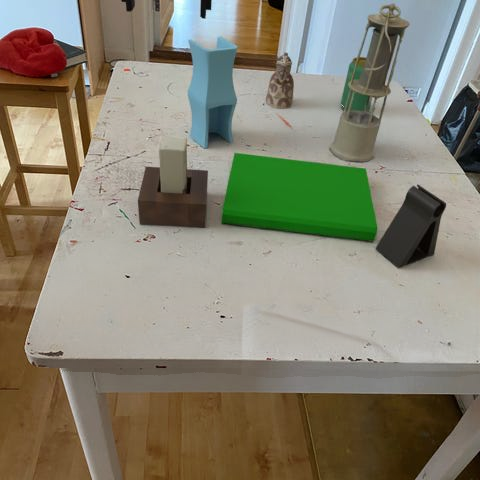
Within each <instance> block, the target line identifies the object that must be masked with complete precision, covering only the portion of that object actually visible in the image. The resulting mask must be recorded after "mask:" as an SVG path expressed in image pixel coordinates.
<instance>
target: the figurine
mask: <svg viewBox="0 0 480 480" xmlns="http://www.w3.org/2000/svg"><path fill="white" fill-rule="evenodd" d="M275 64H276V65H275V71H274V73H273V74H271V76H270V79H269V82H268V83H269V84H268V88H267V92H266V96H265V103H266V104H267V105H268V106H270V108H273V109H274V108H275V109H279V110H280V109H289V108H291V106H292V105H293V100H294V88H295V81H294V77H293V75H292V74H291V72H292V71H291V70H292V65H293V61H292V59H291V56H289V53H288V52H283V54H282V55H280V56H279V57H278V59H277V60H276V63H275Z"/></svg>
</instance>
